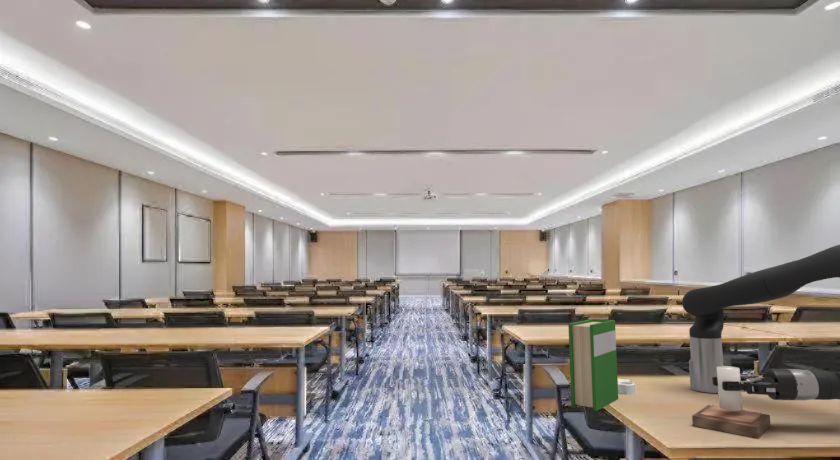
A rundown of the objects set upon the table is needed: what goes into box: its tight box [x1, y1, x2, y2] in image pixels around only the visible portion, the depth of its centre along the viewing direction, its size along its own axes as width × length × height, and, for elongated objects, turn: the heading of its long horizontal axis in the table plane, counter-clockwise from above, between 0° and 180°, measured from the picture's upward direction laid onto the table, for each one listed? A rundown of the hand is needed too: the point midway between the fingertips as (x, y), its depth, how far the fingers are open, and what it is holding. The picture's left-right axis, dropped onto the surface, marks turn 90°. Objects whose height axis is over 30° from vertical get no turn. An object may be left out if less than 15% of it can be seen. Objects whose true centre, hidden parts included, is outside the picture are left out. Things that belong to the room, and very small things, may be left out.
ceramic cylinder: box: [717, 365, 744, 411], centre depth 126 cm, size 5×5×10 cm
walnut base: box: [691, 404, 772, 439], centre depth 125 cm, size 14×14×3 cm
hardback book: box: [568, 318, 619, 412], centre depth 149 cm, size 18×7×24 cm, turn 139°
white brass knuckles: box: [617, 378, 636, 395], centre depth 166 cm, size 3×18×15 cm
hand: (718, 383), depth 126 cm, fingers closed on ceramic cylinder, 5 cm apart
